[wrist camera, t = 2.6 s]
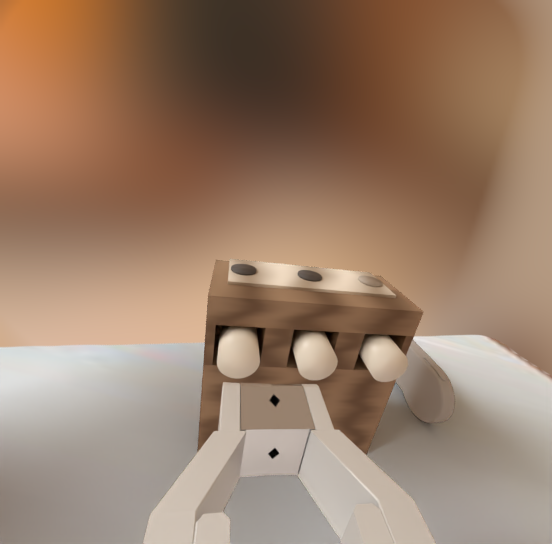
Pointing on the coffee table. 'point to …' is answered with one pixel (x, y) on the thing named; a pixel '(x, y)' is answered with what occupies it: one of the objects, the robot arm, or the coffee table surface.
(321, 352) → the button middle
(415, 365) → the game controller
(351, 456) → the robot arm
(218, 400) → the console
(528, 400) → the coffee table surface
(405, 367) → the button
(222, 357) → the button
